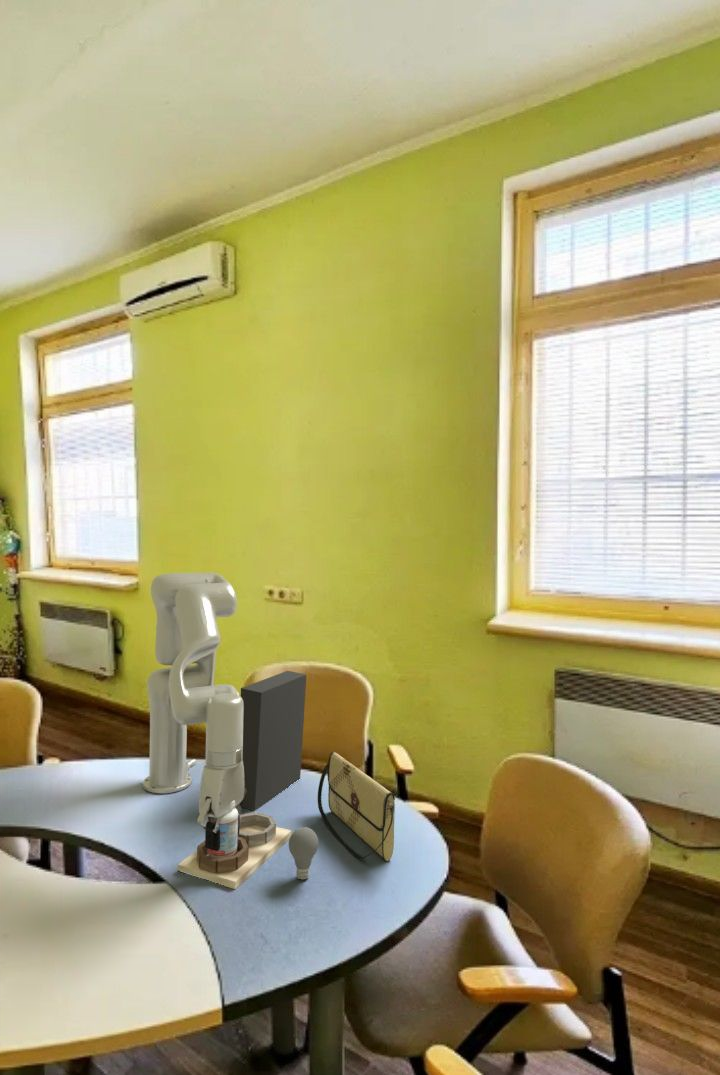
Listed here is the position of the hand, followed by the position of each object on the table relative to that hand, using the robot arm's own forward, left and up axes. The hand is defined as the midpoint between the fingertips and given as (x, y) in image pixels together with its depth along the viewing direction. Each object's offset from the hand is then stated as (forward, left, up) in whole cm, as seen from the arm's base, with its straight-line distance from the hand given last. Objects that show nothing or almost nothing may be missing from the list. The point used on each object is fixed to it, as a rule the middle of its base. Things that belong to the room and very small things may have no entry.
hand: (222, 840), depth 126 cm
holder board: (-5, 0, -5) cm, 8 cm away
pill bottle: (0, 0, -3) cm, 3 cm away
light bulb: (-3, +17, -6) cm, 18 cm away
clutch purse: (-22, +20, -6) cm, 30 cm away
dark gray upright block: (-34, -11, -6) cm, 37 cm away
